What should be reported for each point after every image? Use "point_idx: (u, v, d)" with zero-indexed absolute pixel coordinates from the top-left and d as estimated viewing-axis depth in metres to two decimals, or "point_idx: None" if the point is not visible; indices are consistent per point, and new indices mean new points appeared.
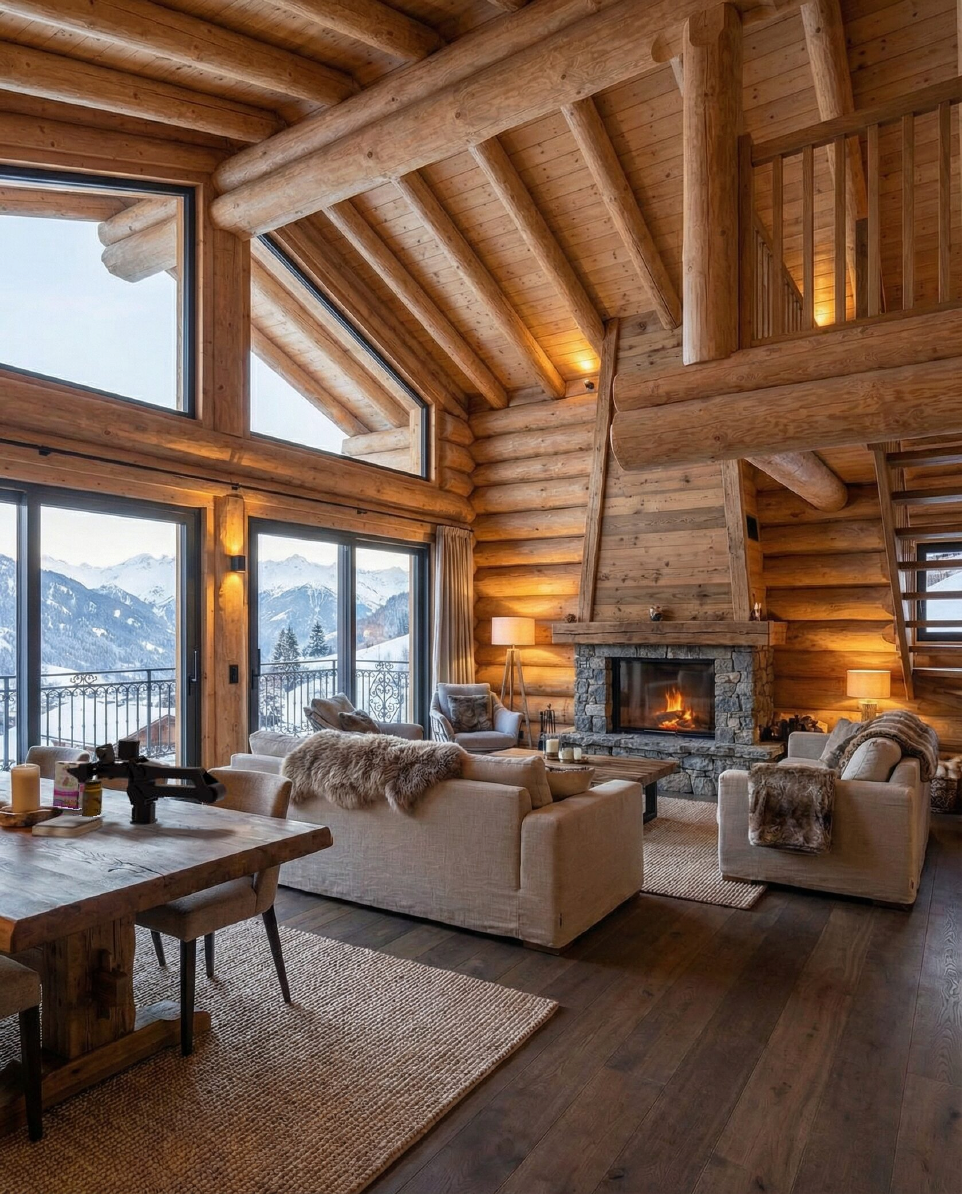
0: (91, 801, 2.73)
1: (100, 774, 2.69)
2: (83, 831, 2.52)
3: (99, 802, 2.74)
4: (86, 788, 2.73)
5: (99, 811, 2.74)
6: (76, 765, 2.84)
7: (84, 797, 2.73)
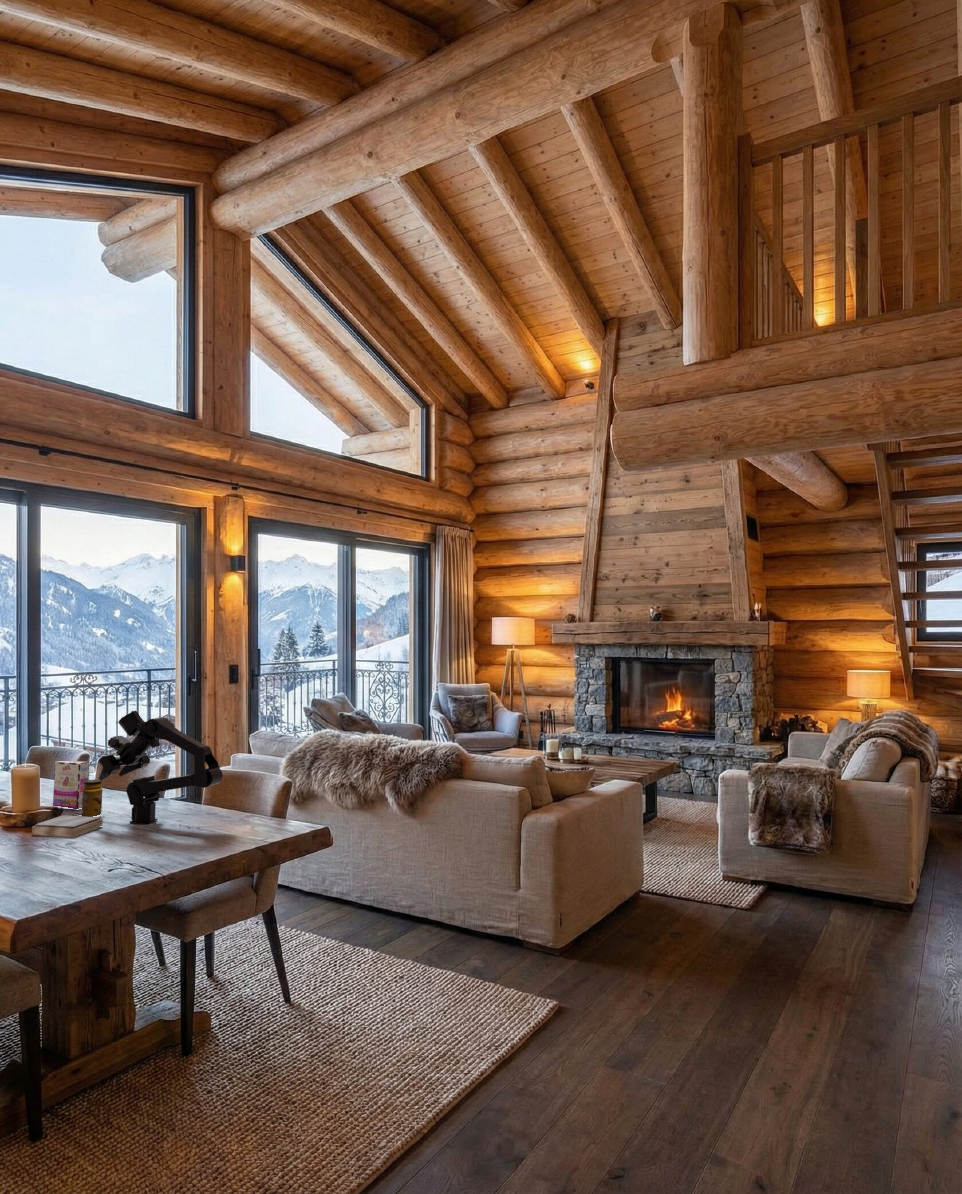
0: (91, 801, 2.73)
1: (126, 760, 2.68)
2: (83, 831, 2.52)
3: (99, 802, 2.74)
4: (86, 788, 2.73)
5: (99, 811, 2.74)
6: (76, 765, 2.84)
7: (84, 797, 2.73)
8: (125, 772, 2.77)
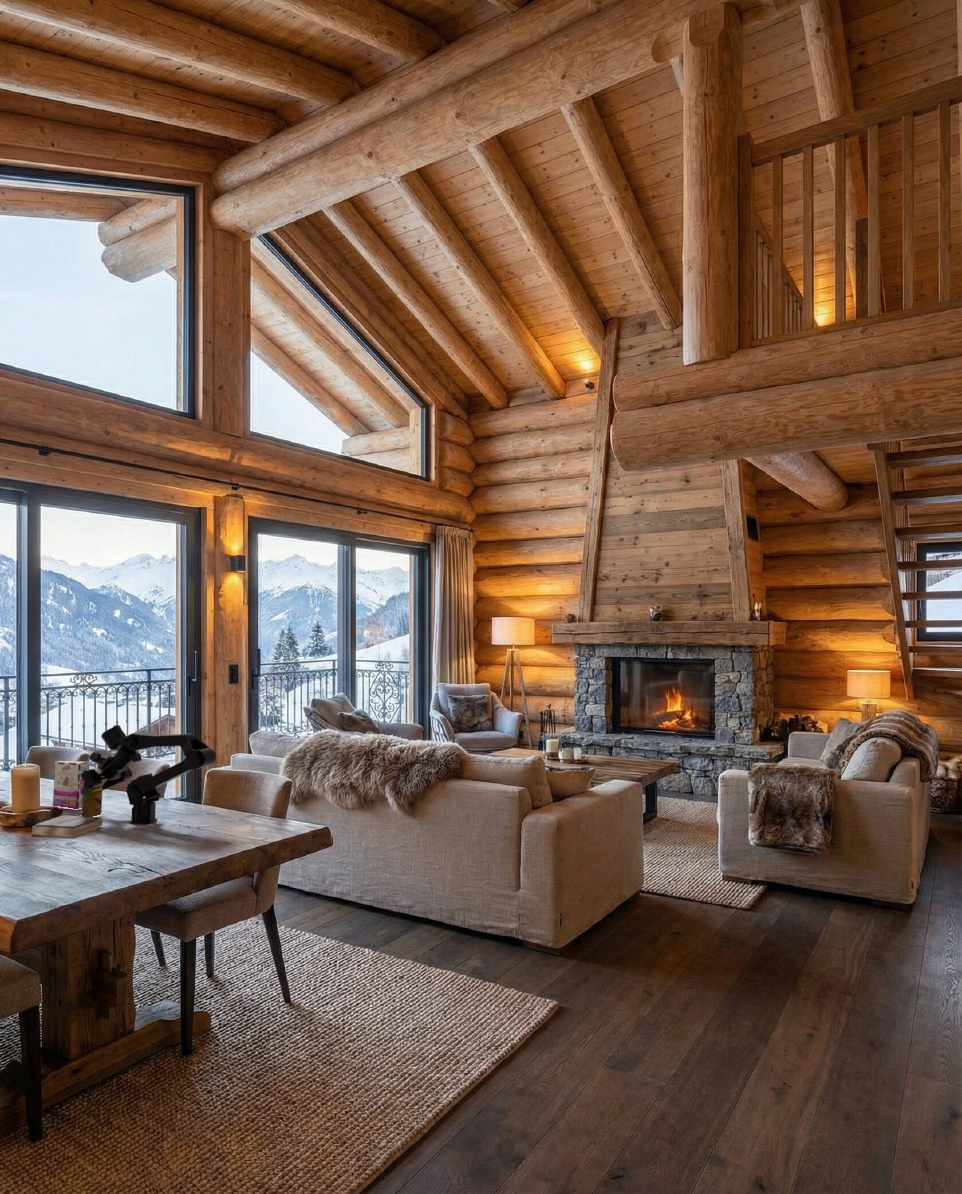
0: (91, 801, 2.73)
1: (108, 774, 2.70)
2: (83, 831, 2.52)
3: (99, 802, 2.74)
4: None
5: (99, 811, 2.74)
6: (76, 765, 2.84)
7: (84, 797, 2.73)
8: (107, 786, 2.78)
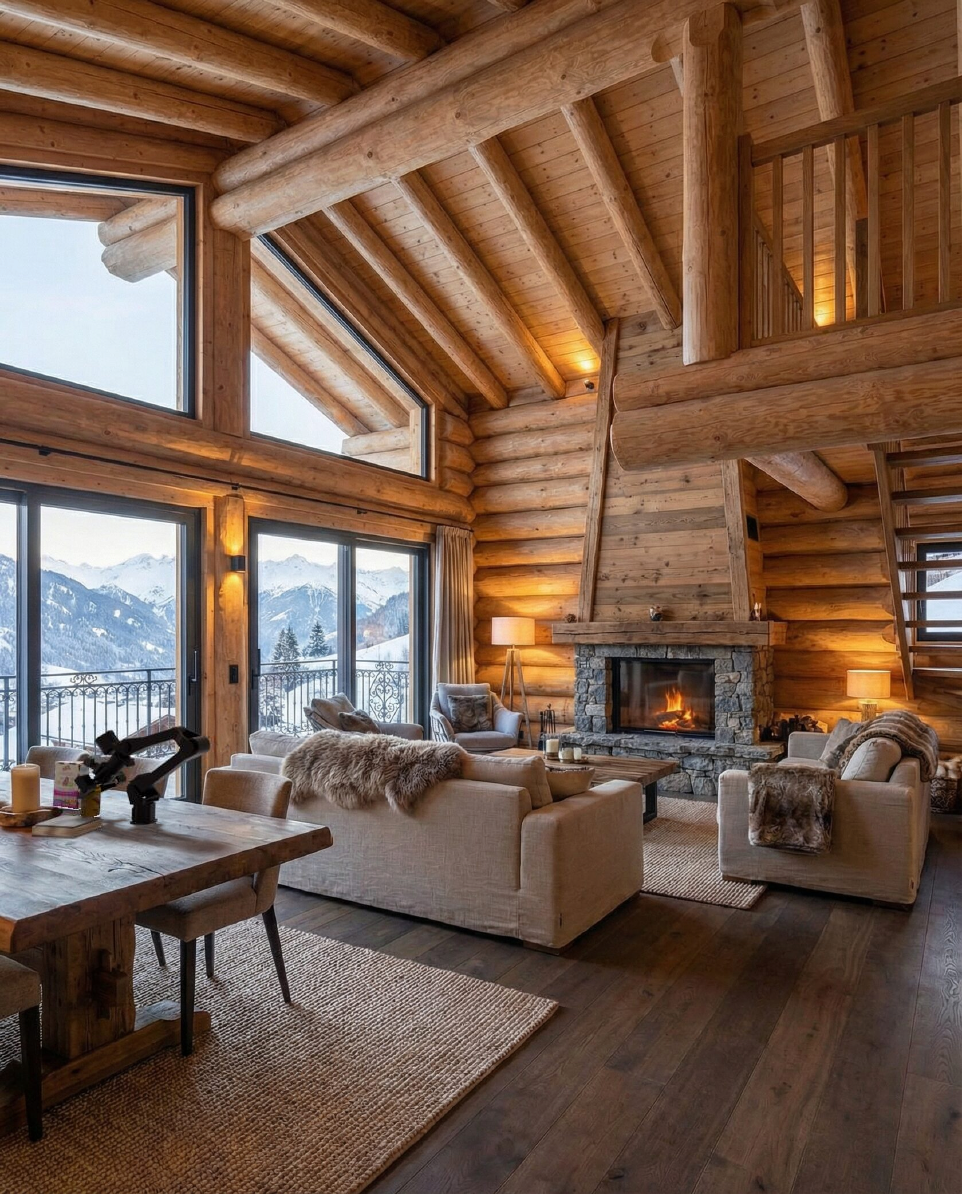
0: (90, 801, 2.72)
1: (102, 779, 2.71)
2: (83, 831, 2.52)
3: (98, 802, 2.74)
4: None
5: (98, 811, 2.74)
6: (76, 765, 2.84)
7: None
8: None
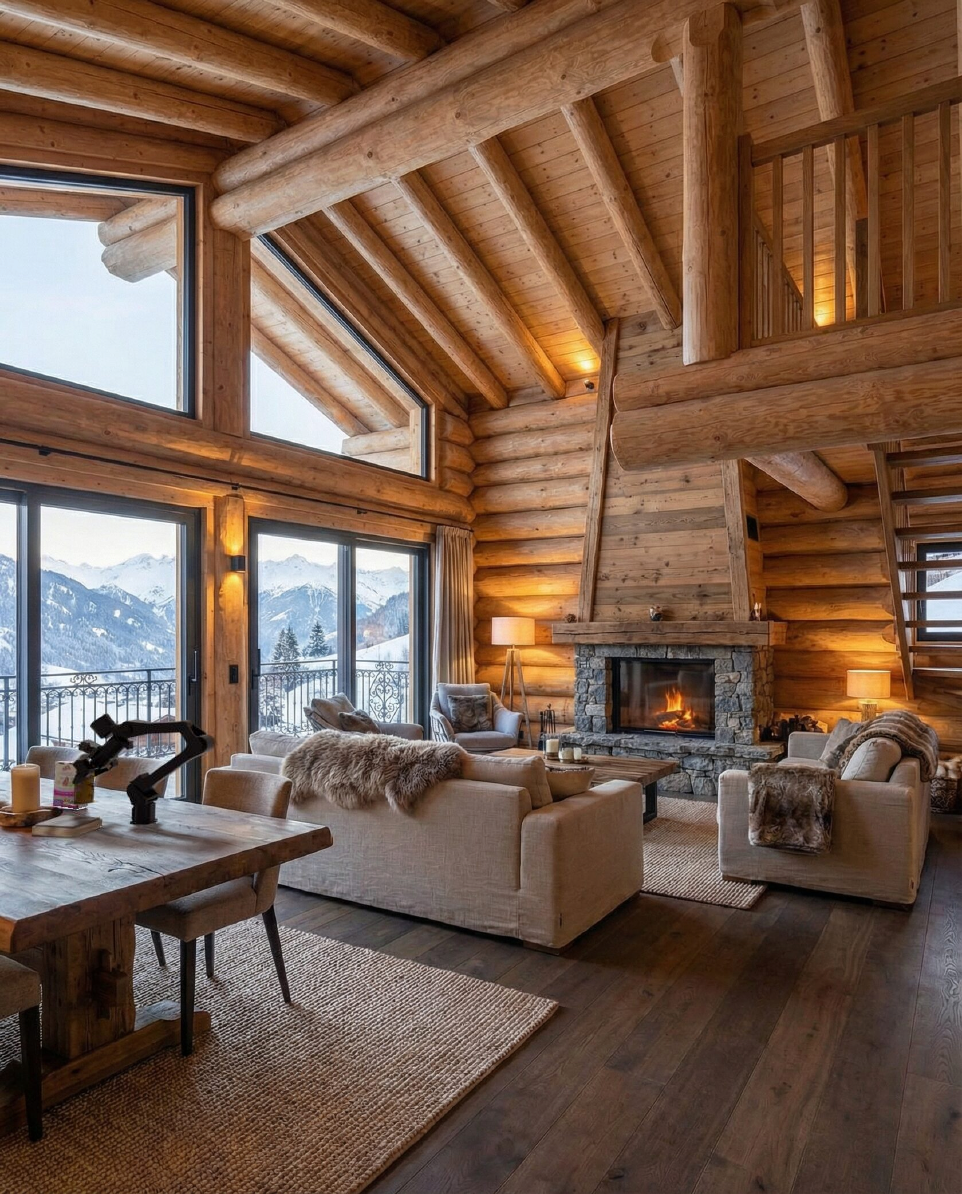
0: (85, 786, 2.68)
1: (99, 763, 2.68)
2: (83, 831, 2.52)
3: (92, 787, 2.71)
4: None
5: (93, 796, 2.71)
6: None
7: (77, 783, 2.68)
8: None
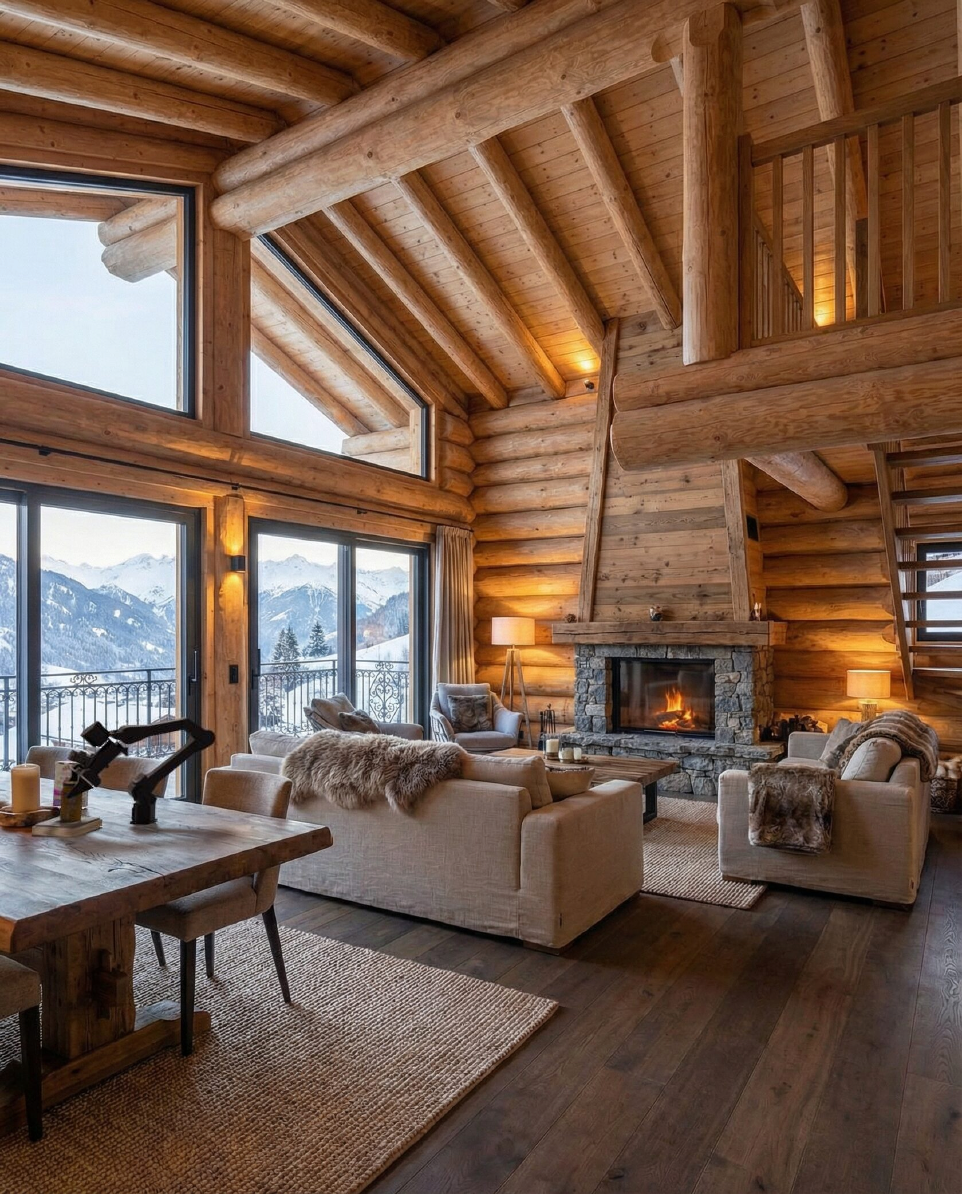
0: (79, 802, 2.55)
1: (96, 772, 2.58)
2: (83, 831, 2.52)
3: None
4: None
5: None
6: None
7: (71, 800, 2.53)
8: None
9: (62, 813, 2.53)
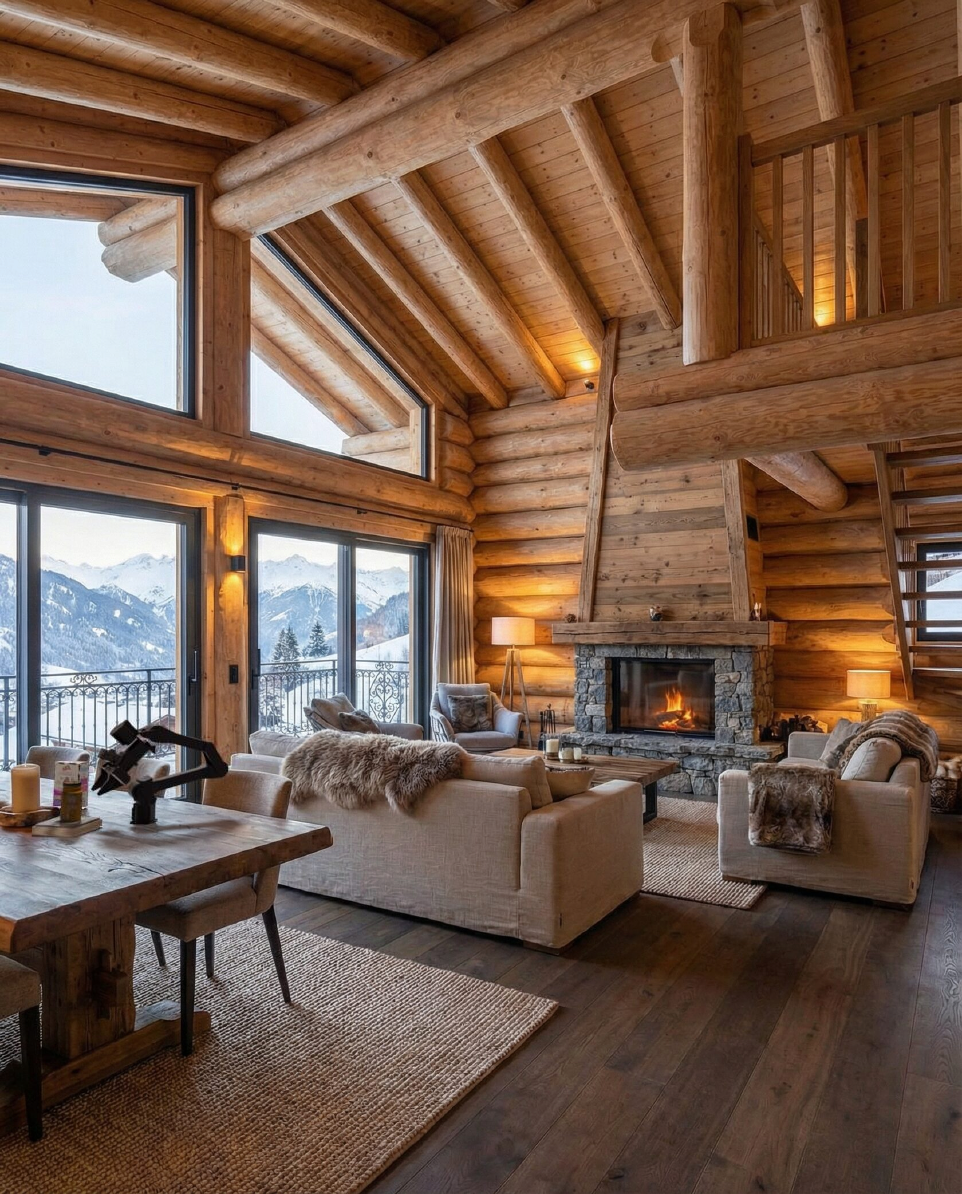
0: (79, 802, 2.55)
1: (125, 770, 2.63)
2: (83, 831, 2.52)
3: None
4: (73, 790, 2.54)
5: None
6: (76, 765, 2.84)
7: (71, 800, 2.53)
8: (99, 786, 2.65)
9: (62, 813, 2.53)
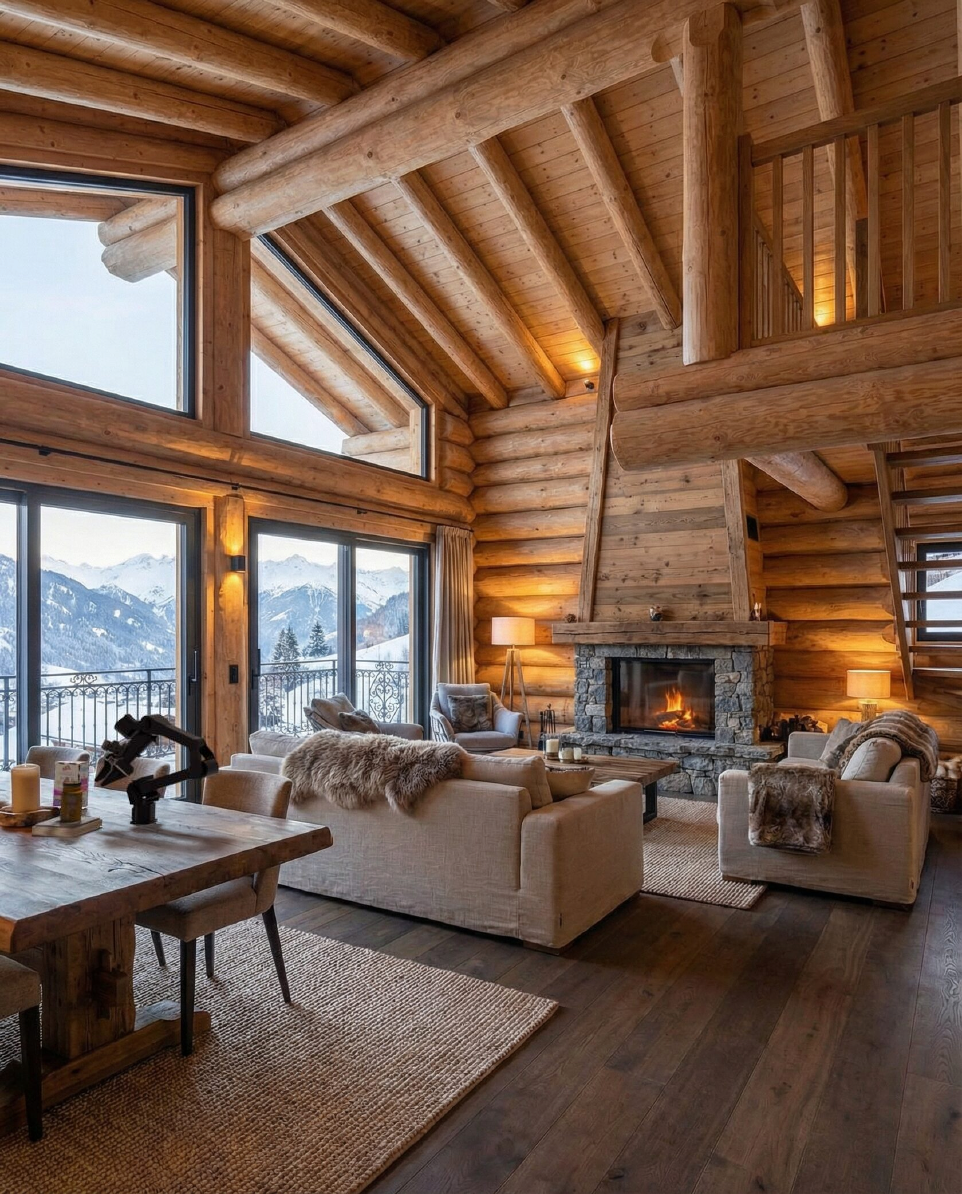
0: (79, 802, 2.55)
1: (128, 761, 2.65)
2: (83, 831, 2.52)
3: None
4: (73, 790, 2.54)
5: None
6: (76, 765, 2.84)
7: (71, 800, 2.53)
8: (103, 777, 2.67)
9: (62, 813, 2.53)
